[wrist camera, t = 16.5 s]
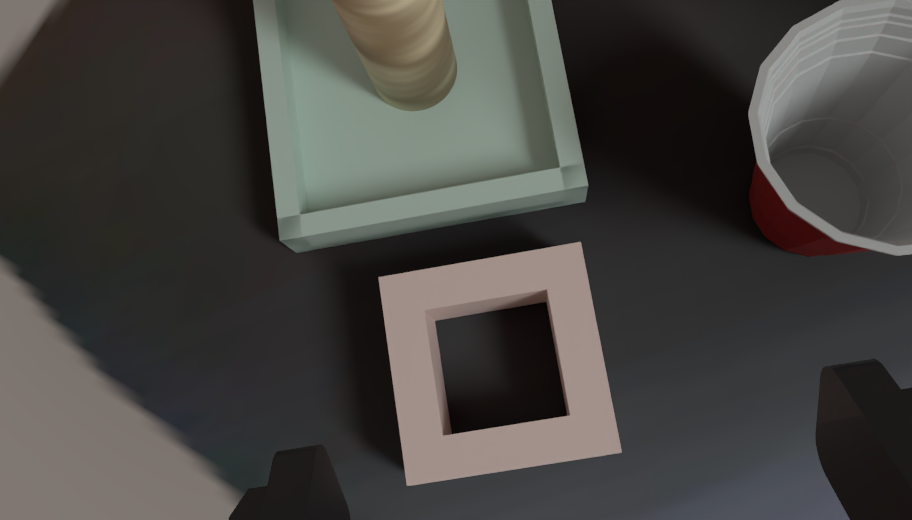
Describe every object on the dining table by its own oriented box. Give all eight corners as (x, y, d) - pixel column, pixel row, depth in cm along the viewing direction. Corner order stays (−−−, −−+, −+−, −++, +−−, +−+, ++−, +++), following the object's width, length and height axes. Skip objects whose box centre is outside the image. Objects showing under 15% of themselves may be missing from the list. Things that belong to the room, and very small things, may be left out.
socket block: (577, 258, 43) (580, 241, 39) (613, 450, 40) (621, 452, 36) (392, 290, 43) (378, 277, 39) (419, 480, 41) (407, 486, 37)
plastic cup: (748, 71, 44) (824, -58, 32) (944, 156, 42) (1101, 52, 30) (659, 244, 42) (705, 175, 31) (857, 341, 40) (987, 306, 29)
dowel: (449, 23, 45) (417, -119, 33) (464, 101, 44) (435, -16, 32) (366, 40, 45) (305, -94, 34) (378, 119, 44) (320, 9, 33)
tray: (527, -90, 47) (526, -124, 44) (585, 201, 43) (588, 185, 40) (263, -36, 48) (245, -66, 45) (297, 253, 44) (279, 240, 41)
